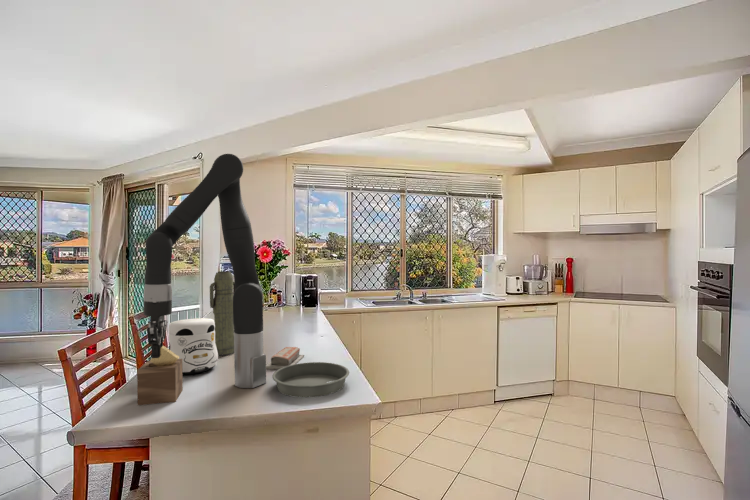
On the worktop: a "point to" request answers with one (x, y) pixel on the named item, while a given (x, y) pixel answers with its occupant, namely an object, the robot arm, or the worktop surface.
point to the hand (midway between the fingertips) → (157, 356)
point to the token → (165, 357)
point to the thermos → (223, 312)
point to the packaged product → (285, 358)
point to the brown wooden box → (159, 383)
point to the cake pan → (310, 379)
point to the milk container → (194, 344)
